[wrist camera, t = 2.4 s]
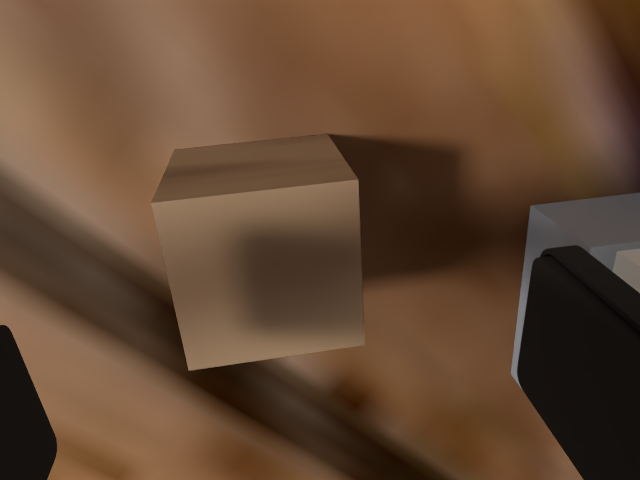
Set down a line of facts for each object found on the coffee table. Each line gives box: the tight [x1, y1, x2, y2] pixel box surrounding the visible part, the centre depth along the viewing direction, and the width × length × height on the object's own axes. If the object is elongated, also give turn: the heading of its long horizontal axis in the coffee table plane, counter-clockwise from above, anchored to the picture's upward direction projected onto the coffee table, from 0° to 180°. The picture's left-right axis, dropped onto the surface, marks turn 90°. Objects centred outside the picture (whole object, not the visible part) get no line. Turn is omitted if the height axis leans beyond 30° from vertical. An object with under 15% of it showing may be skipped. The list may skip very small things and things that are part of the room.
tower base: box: [511, 193, 640, 389], centre depth 20 cm, size 8×8×4 cm
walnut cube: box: [151, 134, 365, 370], centre depth 16 cm, size 5×5×5 cm
